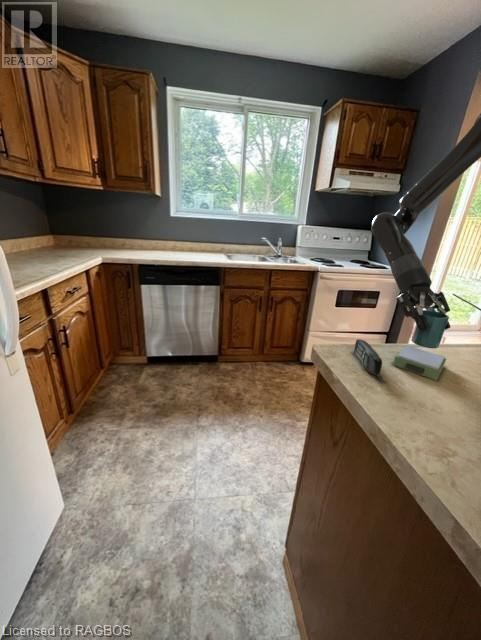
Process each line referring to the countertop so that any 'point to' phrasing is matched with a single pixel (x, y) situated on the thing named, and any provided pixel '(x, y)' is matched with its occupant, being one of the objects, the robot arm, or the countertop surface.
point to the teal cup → (431, 330)
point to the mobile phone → (368, 357)
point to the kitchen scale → (420, 362)
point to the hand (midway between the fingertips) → (435, 329)
